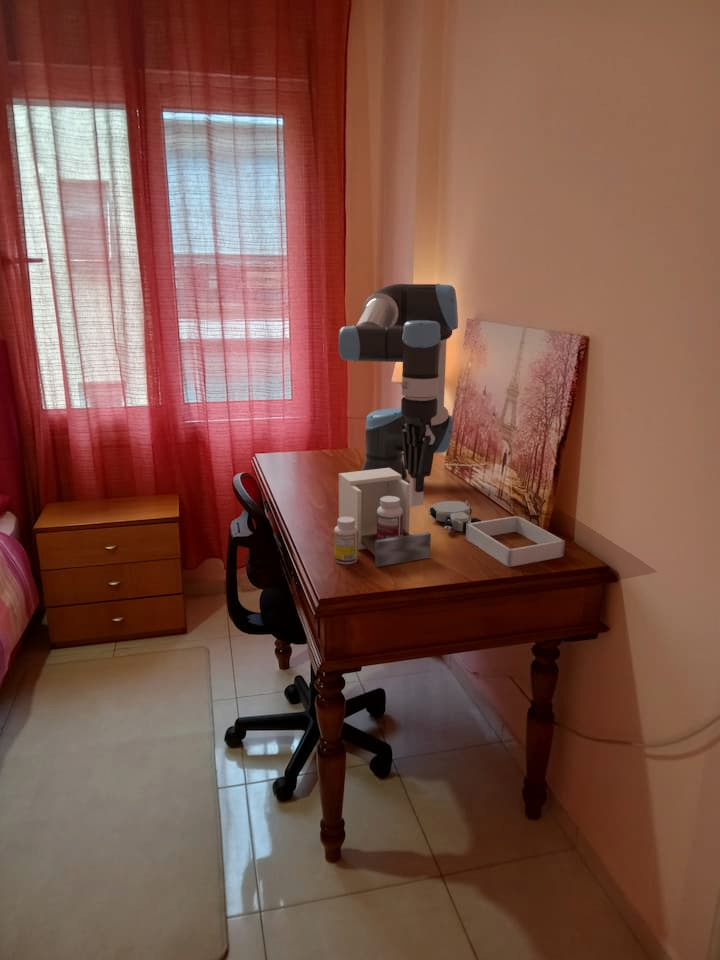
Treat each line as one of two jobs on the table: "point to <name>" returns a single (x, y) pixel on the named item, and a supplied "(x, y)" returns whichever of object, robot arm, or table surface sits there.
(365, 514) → the caddy
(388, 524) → the pill bottle
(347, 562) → the supplement bottle
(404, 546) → the drawer
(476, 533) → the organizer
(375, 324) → the robot arm
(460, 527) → the robot toy
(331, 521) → the table surface
